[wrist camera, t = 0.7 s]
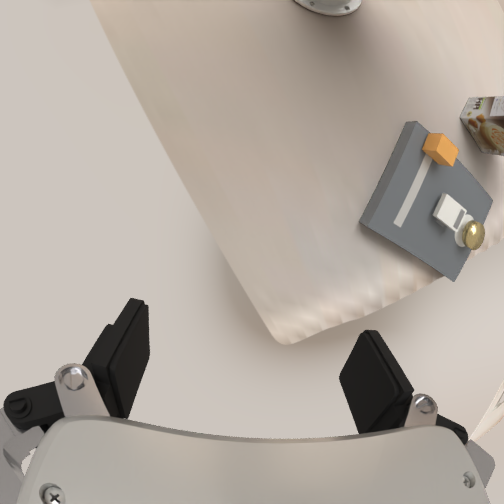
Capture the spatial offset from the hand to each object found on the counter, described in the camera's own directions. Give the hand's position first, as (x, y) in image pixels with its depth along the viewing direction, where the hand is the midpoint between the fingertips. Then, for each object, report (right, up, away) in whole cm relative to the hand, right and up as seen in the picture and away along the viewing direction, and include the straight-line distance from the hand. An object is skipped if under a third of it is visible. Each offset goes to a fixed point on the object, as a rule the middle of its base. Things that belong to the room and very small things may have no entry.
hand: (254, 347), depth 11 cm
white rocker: (+31, +10, +23) cm, 39 cm away
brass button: (+38, +7, +24) cm, 45 cm away
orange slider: (+27, +19, +21) cm, 39 cm away
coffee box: (+42, +28, +22) cm, 55 cm away
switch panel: (+31, +12, +27) cm, 43 cm away
